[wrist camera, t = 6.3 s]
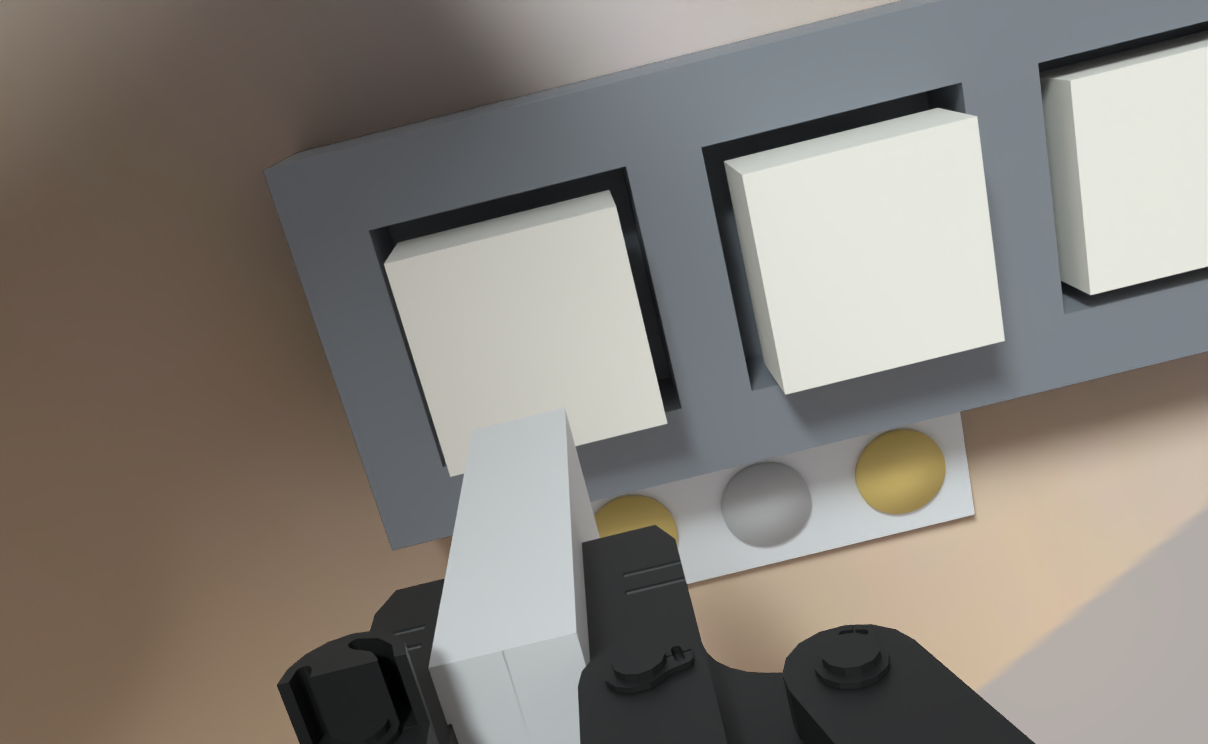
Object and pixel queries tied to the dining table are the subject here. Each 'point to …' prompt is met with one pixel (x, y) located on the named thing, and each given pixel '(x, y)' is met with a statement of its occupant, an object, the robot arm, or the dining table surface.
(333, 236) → the board
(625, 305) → the button
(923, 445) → the card
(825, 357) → the button
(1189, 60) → the button
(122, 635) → the dining table surface
